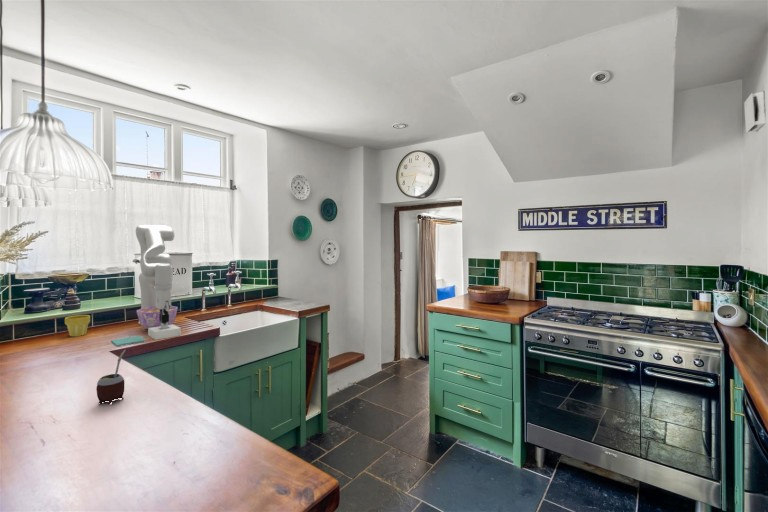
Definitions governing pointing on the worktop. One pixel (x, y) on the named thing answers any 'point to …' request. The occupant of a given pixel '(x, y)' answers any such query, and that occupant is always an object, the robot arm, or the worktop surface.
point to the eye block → (164, 332)
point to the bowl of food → (154, 316)
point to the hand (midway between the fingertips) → (164, 321)
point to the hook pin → (163, 323)
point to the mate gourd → (111, 386)
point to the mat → (128, 340)
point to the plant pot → (77, 324)
